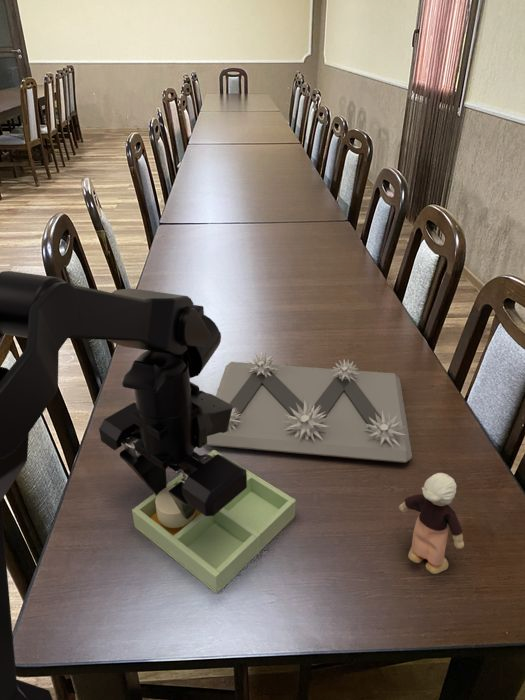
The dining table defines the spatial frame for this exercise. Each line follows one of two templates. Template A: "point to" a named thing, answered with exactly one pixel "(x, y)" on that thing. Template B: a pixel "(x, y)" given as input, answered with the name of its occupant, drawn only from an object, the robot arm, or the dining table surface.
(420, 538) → the grandmother figurine
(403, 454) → the decorative plate
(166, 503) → the cylinder
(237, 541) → the grid
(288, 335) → the dining table surface
